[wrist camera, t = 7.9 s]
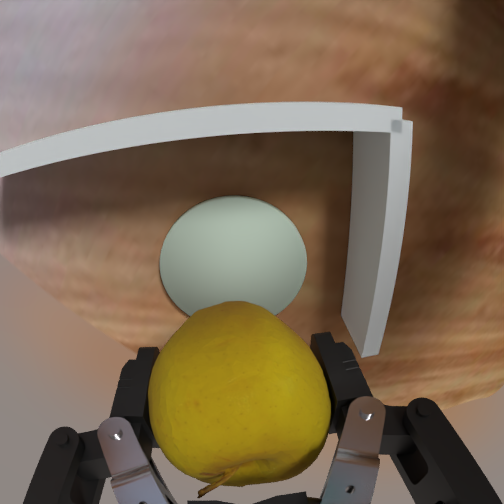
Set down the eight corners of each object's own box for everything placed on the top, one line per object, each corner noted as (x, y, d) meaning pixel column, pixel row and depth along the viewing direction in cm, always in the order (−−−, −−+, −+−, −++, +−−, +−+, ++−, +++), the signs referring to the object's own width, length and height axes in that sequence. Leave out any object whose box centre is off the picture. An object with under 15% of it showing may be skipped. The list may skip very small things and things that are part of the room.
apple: (134, 302, 13) (87, 472, 6) (273, 244, 12) (333, 424, 5) (203, 389, 16) (205, 529, 9) (318, 350, 15) (367, 493, 8)
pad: (305, 189, 18) (308, 192, 18) (302, 315, 22) (304, 320, 22) (149, 203, 18) (147, 207, 17) (175, 326, 22) (174, 332, 21)
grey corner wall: (371, 104, 16) (412, 108, 12) (355, 313, 23) (378, 354, 19) (5, 150, 15) (-38, 167, 11) (64, 334, 22) (44, 374, 18)
